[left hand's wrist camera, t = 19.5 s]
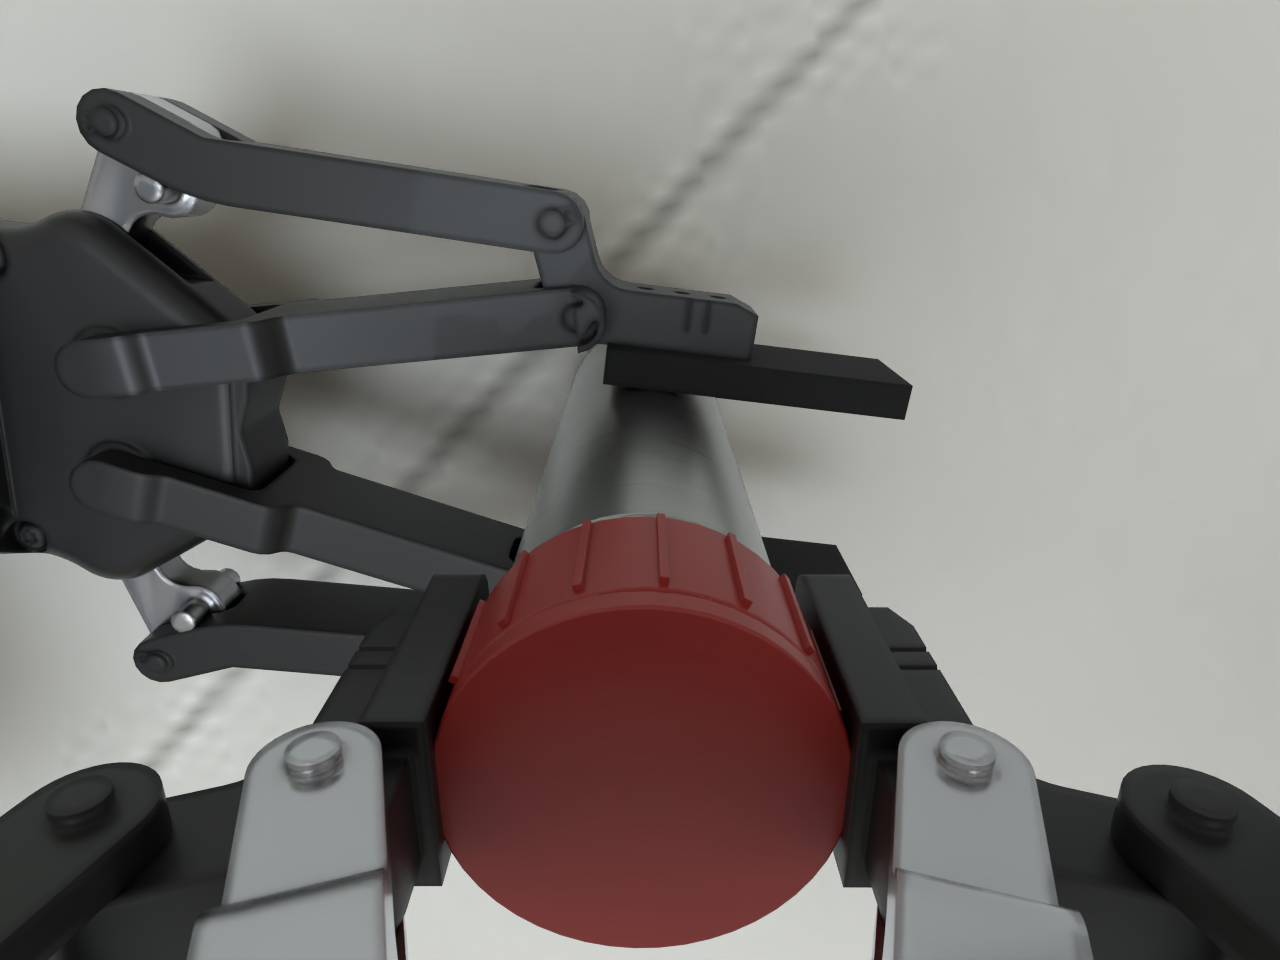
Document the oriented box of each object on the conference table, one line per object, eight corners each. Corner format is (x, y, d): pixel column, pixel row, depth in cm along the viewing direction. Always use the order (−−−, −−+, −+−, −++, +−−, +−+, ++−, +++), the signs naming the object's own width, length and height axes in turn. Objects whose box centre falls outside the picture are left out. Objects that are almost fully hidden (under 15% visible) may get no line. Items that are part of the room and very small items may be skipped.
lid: (868, 729, 12) (923, 862, 9) (575, 852, 12) (561, 1002, 10) (721, 447, 10) (744, 525, 8) (399, 606, 11) (337, 719, 9)
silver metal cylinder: (560, 340, 24) (423, 618, 9) (701, 318, 24) (805, 566, 9) (585, 472, 26) (504, 903, 11) (719, 453, 26) (833, 865, 10)
